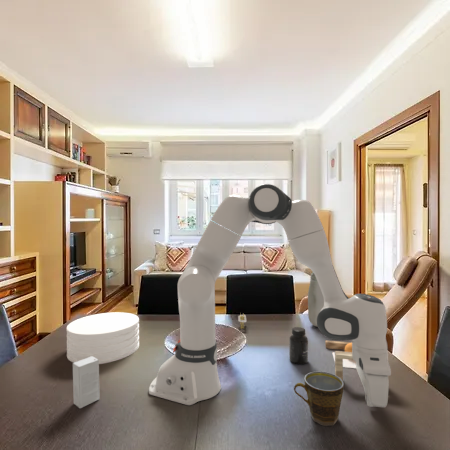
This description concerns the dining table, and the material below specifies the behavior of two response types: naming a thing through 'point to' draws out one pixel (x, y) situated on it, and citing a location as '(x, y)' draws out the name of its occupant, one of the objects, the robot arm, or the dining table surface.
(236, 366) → the dining table surface
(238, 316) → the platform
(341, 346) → the rail
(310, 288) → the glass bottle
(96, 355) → the plate stack
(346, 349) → the ball
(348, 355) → the bridge
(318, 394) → the ceramic cup
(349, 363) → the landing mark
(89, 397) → the skincare box
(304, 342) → the supplement bottle
